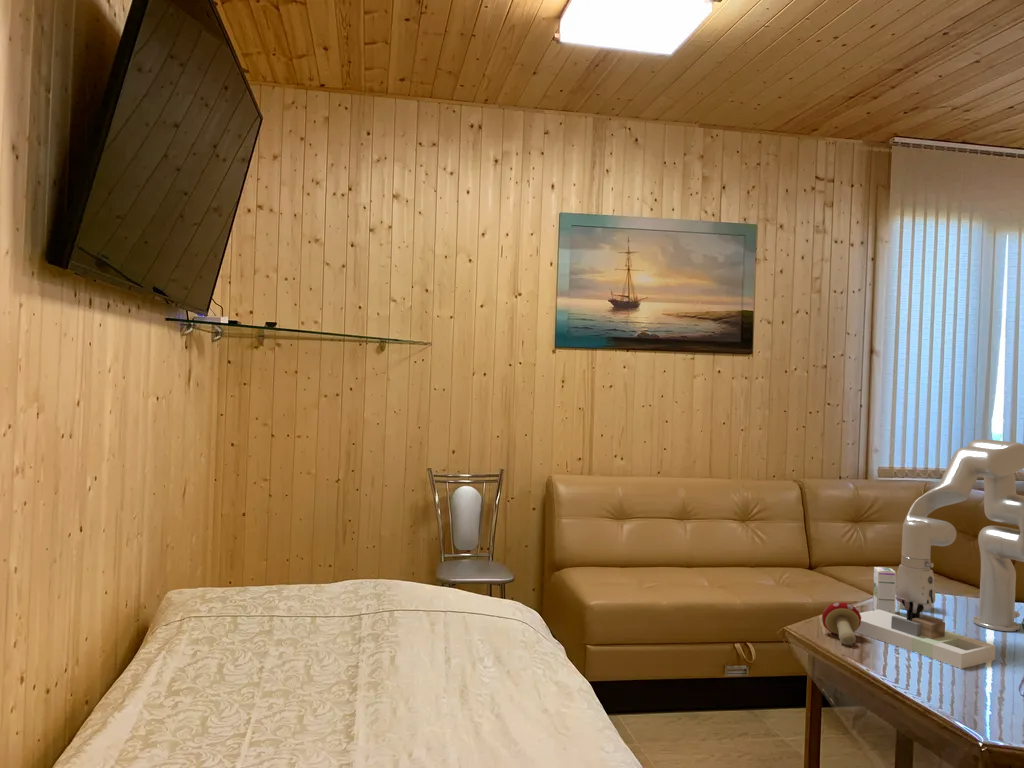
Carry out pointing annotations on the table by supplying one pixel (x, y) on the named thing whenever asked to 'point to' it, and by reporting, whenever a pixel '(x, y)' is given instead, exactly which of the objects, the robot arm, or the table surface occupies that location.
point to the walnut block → (930, 627)
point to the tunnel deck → (925, 639)
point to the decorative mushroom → (842, 621)
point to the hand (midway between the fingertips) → (912, 624)
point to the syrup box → (884, 589)
